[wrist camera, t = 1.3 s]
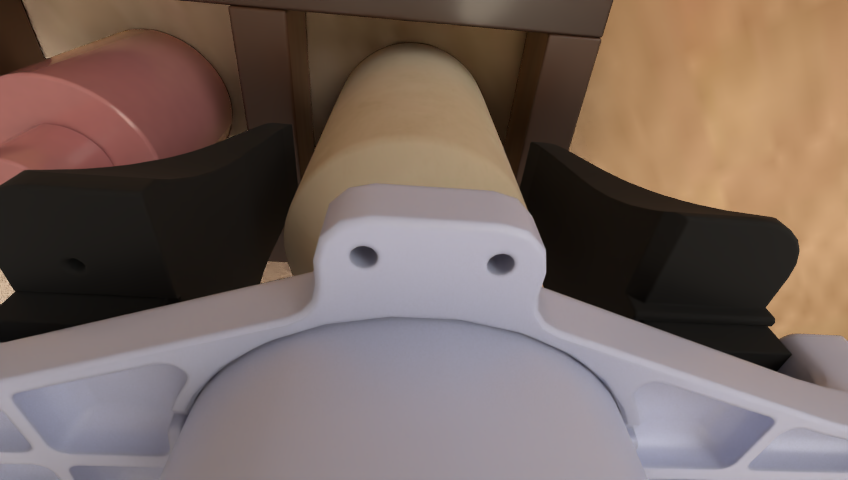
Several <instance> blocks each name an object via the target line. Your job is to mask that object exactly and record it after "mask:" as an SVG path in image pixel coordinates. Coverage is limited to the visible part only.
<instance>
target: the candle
mask: <svg viewBox="0 0 848 480" xmlns="http://www.w3.org/2000/svg"><path fill="white" fill-rule="evenodd" d="M374 183H381V184H397V185H412V186H427V187H443V188H458V189H473V190H489V191H495V192H498V193H502V194H505V195H508V196H511V197H514V198H517V199H518V200H519V201H520V202H521V203H522V204H523V206H524V207H525V208H526V209H527V207H526V204H525V202H524V199H523V196H522V194H521V191H520V189H519V186H518V184H517V181H516V179H515V176H514V174H513V171H512V169H511V166H510V164H509V161H508V159H507V156H506V154H505V151H504V149H503V146H502V144H501V141H500V139H499V136H498V133H497V131H496V128H495V126H494V123H493V121H492V118H491V116H490V113H489V111H488V108H487V106H486V103H485V101H484V98H483V96H482V94H481V92H480V89H479V87H478V85H477V83H476V81H475V80H474V78H473V76H472V75H471V73H470V72H469V71H468V70H467V69H466V67H465V66H464V65H463V64H462V63H460V62H459V61H458V60H457V59H456V58H454V57H453V56H451V55H450V54H448V53H447V52H445V51H443V50H440V49H438V48H436V47H433V46H429V45H425V44H419V43H402V44H396V45H392V46H388V47H385V48H383V49H381V50H378V51H376V52H375V53H373V54H371V55H370V56H368V57H367V58H366V59H364V60H363V61H362V62H361V63H360V64H359V65H358V66H357V67H356V68H355V69H354V70H353V71H352V73H351V74H350V76H349V77H348V79H347V80H346V82H345V84H344V86H343V88H342V90H341V92H340V94H339V97H338V99H337V101H336V103H335V106H334V108H333V110H332V112H331V115H330V117H329V119H328V121H327V124H326V126H325V128H324V130H323V133H322V135H321V137H320V139H319V142H318V144H317V146H316V148H315V151H314V153H313V155H312V157H311V160H310V162H309V164H308V166H307V169H306V171H305V173H304V175H303V178H302V180H301V182H300V184H299V187H298V189H297V191H296V193H295V196H294V198H293V200H292V203H291V205H290V208H289V211H288V214H287V217H286V221H285V229H284V248H285V253H286V258H287V261H288V264H289V267H290V269H291V272H292V274H293V276H296V275H300V274H305V273H309V272H313V271H314V265H313V258H314V254H315V251H316V247H317V243H318V240H319V236H320V233H321V229H322V226H323V223H324V220H325V216H326V213H327V210H328V206H329V203H331V202H332V201H333V200H334V199H335V198H337V197H338V196H339V195H340V194H341V193H343V192H344V191H345V190H346V189H348V188H350V187H356V186H362V185H368V184H374ZM527 210H528V209H527Z"/></svg>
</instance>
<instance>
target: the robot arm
mask: <svg viewBox="0 0 848 480" xmlns="http://www.w3.org/2000/svg"><path fill="white" fill-rule="evenodd" d="M297 188H298V180H297V170H296V159H295V149H294V139H293V129H292V124H282V123H267V124H263V125H260V126H258V127H255V128H252V129H250V130H248V131H245V132H243V133H240V134H238V135H236V136H233V137H231V138H228V139H226V140H223V141H220V142H218V143H215V144H212V145H210V146H207V147H204V148H201V149H198V150H195V151H192V152H188V153H185V154H181V155H177V156H173V157H169V158H164V159H159V160H153V161H147V162H142V163H136V164H129V165H121V166H112V167H100V168H87V169H53V170H24V171H22V172H20V173H19V174H17V175H16V176H14V177H13V178H11V179H9V180H8V181H6V182H5V183H3V184H1V185H0V269H1V270H2V272H3V273H4V275H5V277H6V278H7V280H8V281H9V283H10V284H11V286H12V288H13V289H14V291H15V292H14V293H13V294H12V295H11V296H10V297H9V298H8V299H7V300H6V301H5V302H3V303H2V304H0V480H848V341H847V340H846V339H845V338H844V337H843V336H837V335H815V334H790V335H787V336H784V337H782V338H780V339H778V338H777V337H776V336H775V334H774V333H773V332H772V331H771V330H770V329H769V328H768V326H772V325H773V324H774V323H775V318H774V317H773V316H772V314H771V313H770V312H769V311H768V310H767V309H766V306H767V305H768V304H769V302H770V301H771V300H772V298H773V297H774V296H775V295H776V293H777V292H778V291H779V289H780V288H781V287H782V285H783V284H784V283H785V281H786V280H787V279H788V277H789V276H790V274H791V272H792V271H793V269H794V267H795V266H796V263H797V259H798V255H799V244H798V239H797V238H796V237H795V235H794V234H793V233H792V231H791V230H790V229H789V228H787V227H786V226H785V225H784V224H782V223H781V222H780V221H779V220H777V219H776V218H773V217H767V216H760V215H753V214H746V213H739V212H732V211H726V210H721V209H716V208H711V207H706V206H702V205H697V204H693V203H689V202H685V201H681V200H678V199H675V198H671V197H668V196H664V195H661V194H658V193H655V192H652V191H649V190H647V189H644V188H642V187H639V186H637V185H634V184H631V183H629V182H627V181H624V180H622V179H620V178H618V177H616V176H614V175H612V174H610V173H608V172H606V171H604V170H602V169H600V168H598V167H596V166H594V165H593V164H591V163H589V162H587V161H585V160H584V159H582V158H580V157H578V156H577V155H575V154H573V153H571V152H569V151H568V150H566V149H564V148H562V147H560V146H558V145H555V144H552V143H542V142H531V143H530V147H529V151H528V155H527V160H526V164H525V168H524V172H523V176H522V180H521V184H520V188H519V189H520V191H521V194H522V196H523V199H524V202H525V204H526V207H527V209H528V210H527V209H526V208H525V207H524V206H523V204H522V203H521V202H520V201H519V200H518V199H517V198H514V197H511V196H508V195H505V194H502V193H498V192H495V191H489V190H473V189H458V188H443V187H427V186H412V185H397V184H381V183H374V184H368V185H362V186H356V187H350V188H348V189H346V190H345V191H344V192H343V193H341V194H340V195H339V196H338V197H337V198H335V199H334V200H333V201H332V202H331V203H329V206H328V210H327V213H326V216H325V220H324V223H323V226H322V229H321V233H320V236H319V240H318V243H317V247H316V251H315V254H314V258H313V265H314V271H313V272H309V273H305V274H300V275H296V276H292V277H287V278H283V279H279V280H274V281H270V282H266V283H261V284H260V282H261V279H262V276H263V272H264V270H265V267H266V265H267V262H268V260H269V258H270V255H271V253H272V251H273V249H274V247H275V245H276V243H277V241H278V238H279V236H280V234H281V232H282V230H283V228H284V226H285V221H286V217H287V214H288V211H289V208H290V205H291V203H292V200H293V198H294V196H295V193H296V191H297ZM542 284H543V287H544V288H543V287H542Z"/></svg>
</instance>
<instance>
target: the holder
mask: <svg viewBox="0 0 848 480" xmlns="http://www.w3.org/2000/svg"><path fill="white" fill-rule="evenodd" d="M180 1H191V2H203V3H214V4H225V5H230V6H229V15H230V21H231V27H232V34H233V40H234V46H235V52H236V59H237V65H238V71H239V77H240V84H241V90H242V96H243V103H244V109H245V115H246V121H247V128H248V130H250V129H252V128H255V127H258V126H260V125H263V124H267V123H282V124H292V129H293V139H294V149H295V159H296V170H297V180H298V187H299V184H300V182H301V180H302V178H303V175H304V173H305V171H306V169H307V166H308V164H309V162H310V160H311V157H312V155H313V153H314V137H313V123H312V108H311V93H310V79H309V64H308V49H307V35H306V20H305V12H315V13H326V14H337V15H348V16H359V17H371V18H382V19H393V20H404V21H415V22H427V23H438V24H449V25H460V26H471V27H483V28H494V29H505V30H516V31H527V37H526V42H525V47H524V52H523V57H522V61H521V66H520V71H519V76H518V81H517V86H516V91H515V96H514V101H513V105H512V110H511V115H510V120H509V125H508V130H507V135H506V140H505V145H504V151H505V154H506V156H507V159H508V161H509V164H510V166H511V169H512V171H513V174H514V176H515V179H516V181H517V184H518V186H519V188H520V184H521V180H522V176H523V172H524V168H525V164H526V160H527V155H528V151H529V147H530V143H531V142H542V143H552V144H555V145H558V146H560V147H562V148H564V149H566V150H569V147H570V143H571V140H572V137H573V133H574V130H575V127H576V123H577V120H578V117H579V113H580V110H581V107H582V103H583V100H584V97H585V93H586V90H587V87H588V83H589V80H590V76H591V73H592V70H593V66H594V63H595V60H596V56H597V53H598V50H599V46H600V43H601V39H600V37H602V36H603V33H604V29H605V26H606V23H607V19H608V16H609V13H610V9H611V6H612V2H613V0H180ZM42 60H44V57H43V54H42V52H41V49H40V47H39V45H38V42H37V40H36V37H35V35H34V32H33V30H32V27H31V25H30V22H29V20H28V17H27V15H26V12H25V10H24V8H23V5H22V3H21V0H0V75H3V74H6V73H9V72H11V71H14V70H17V69H20V68H22V67H25V66H28V65H31V64H33V63H36V62H39V61H42ZM297 189H298V188H297ZM284 229H285V226H284V228H283V230H282V232H281V234H280V236H279V238H278V241H277V243H276V245H275V247H274V249H273V251H272V253H271V255H270V258H269V260H268V261H274V262H288V261H287V258H286V253H285V248H284Z"/></svg>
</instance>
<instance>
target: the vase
mask: <svg viewBox="0 0 848 480" xmlns="http://www.w3.org/2000/svg"><path fill="white" fill-rule="evenodd" d="M231 123H232V108H231V103H230V98H229V95H228V92H227V90H226V87H225V85H224V83H223V81H222V79H221V78H220V76H219V75H218V73H217V72H216V70H215V69H214V68H213V67H212V65H211V64H210V63H209V62H208V61H207V60H206V59H205V58H204V57H203V56H202V55H201V54H200V53H199V52H197V51H196V50H195V49H194V48H192V47H191V46H189V45H188V44H186V43H185V42H183V41H181V40H179V39H177V38H175V37H173V36H170V35H168V34H166V33H162V32H159V31H155V30H148V29H131V30H125V31H122V32H119V33H116V34H113V35H110V36H108V37H105V38H102V39H99V40H97V41H94V42H91V43H88V44H86V45H83V46H80V47H77V48H75V49H72V50H69V51H66V52H64V53H61V54H58V55H55V56H53V57H50V58H47V59H44V60H42V61H39V62H36V63H33V64H31V65H28V66H25V67H22V68H20V69H17V70H14V71H11V72H9V73H6V74H3V75H0V185H1V184H3V183H5V182H6V181H8V180H9V179H11V178H13V177H14V176H16V175H17V174H19V173H20V172H22V171H24V170H53V169H87V168H100V167H112V166H121V165H129V164H136V163H142V162H147V161H153V160H159V159H164V158H169V157H173V156H177V155H181V154H185V153H188V152H192V151H195V150H198V149H201V148H204V147H207V146H210V145H212V144H215V143H218V142H220V141H223V140H226V138H227V136H228V134H229V131H230V128H231Z"/></svg>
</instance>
